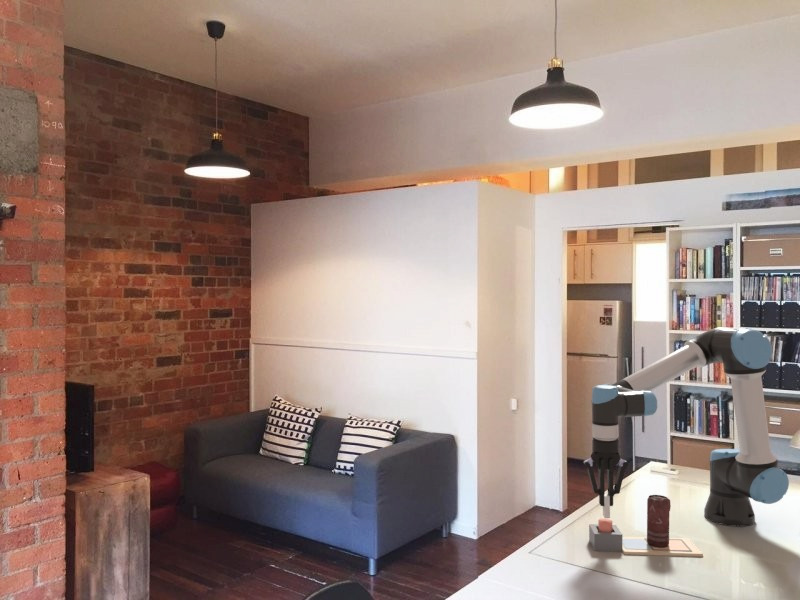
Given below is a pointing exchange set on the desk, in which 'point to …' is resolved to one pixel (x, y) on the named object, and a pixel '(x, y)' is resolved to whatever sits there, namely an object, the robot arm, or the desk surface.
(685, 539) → the board
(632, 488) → the desk surface
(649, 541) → the can
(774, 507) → the desk surface
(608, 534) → the button housing
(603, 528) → the button
